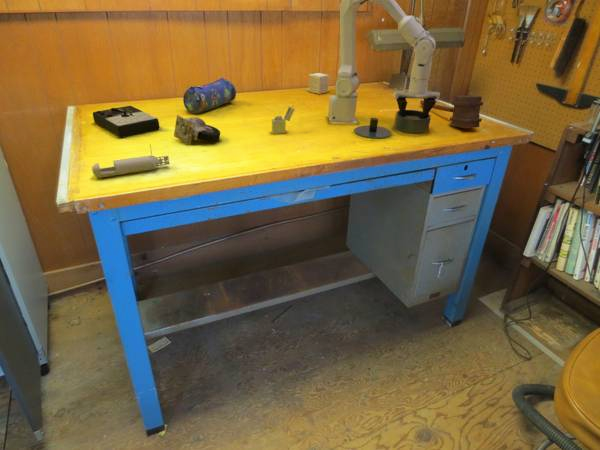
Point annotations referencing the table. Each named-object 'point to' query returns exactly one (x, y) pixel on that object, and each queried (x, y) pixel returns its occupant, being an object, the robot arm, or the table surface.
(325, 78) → the product box
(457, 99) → the hammer
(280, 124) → the lighter
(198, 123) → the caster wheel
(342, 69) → the robot arm
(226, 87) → the pencil case
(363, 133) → the lid
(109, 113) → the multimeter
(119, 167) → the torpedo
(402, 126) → the tin
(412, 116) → the block
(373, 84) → the table surface
